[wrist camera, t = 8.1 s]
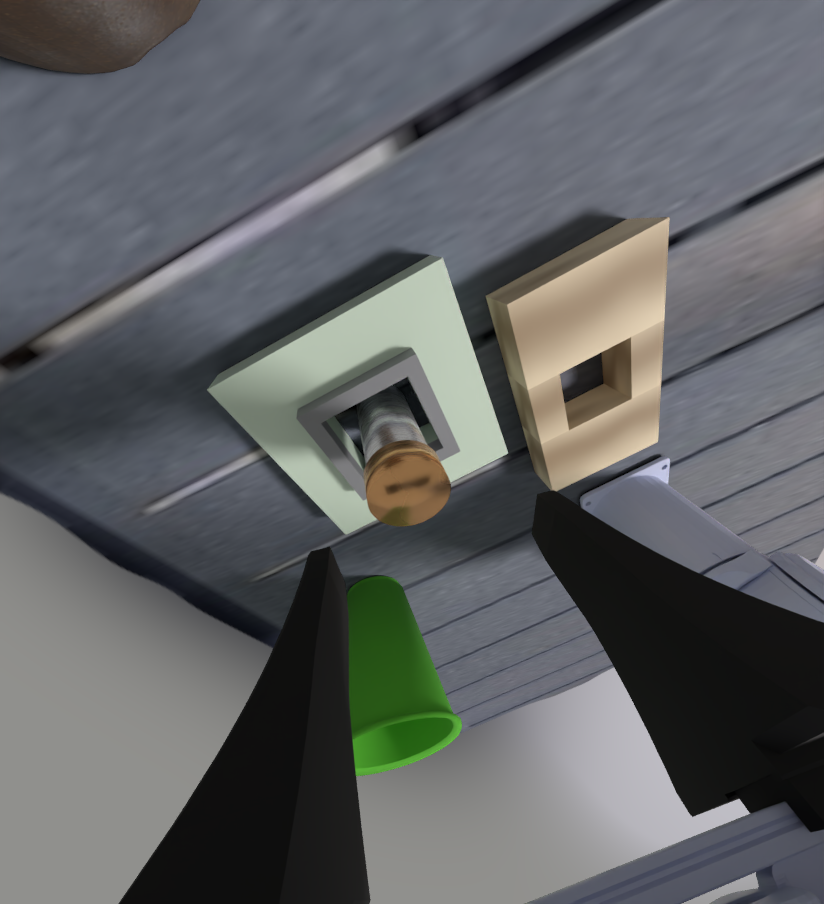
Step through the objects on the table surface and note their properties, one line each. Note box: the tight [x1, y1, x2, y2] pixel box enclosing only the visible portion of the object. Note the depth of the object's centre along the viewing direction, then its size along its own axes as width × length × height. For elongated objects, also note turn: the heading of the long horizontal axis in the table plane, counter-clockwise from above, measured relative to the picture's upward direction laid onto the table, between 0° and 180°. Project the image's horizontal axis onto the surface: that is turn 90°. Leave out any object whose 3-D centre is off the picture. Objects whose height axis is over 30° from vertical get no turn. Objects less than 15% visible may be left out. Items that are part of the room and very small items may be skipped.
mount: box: [486, 217, 669, 491], centre depth 20 cm, size 14×8×2 cm, turn 25°
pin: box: [356, 385, 451, 526], centre depth 16 cm, size 3×3×8 cm
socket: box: [207, 255, 508, 535], centre depth 18 cm, size 12×12×3 cm
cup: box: [347, 576, 462, 776], centre depth 25 cm, size 9×9×11 cm
